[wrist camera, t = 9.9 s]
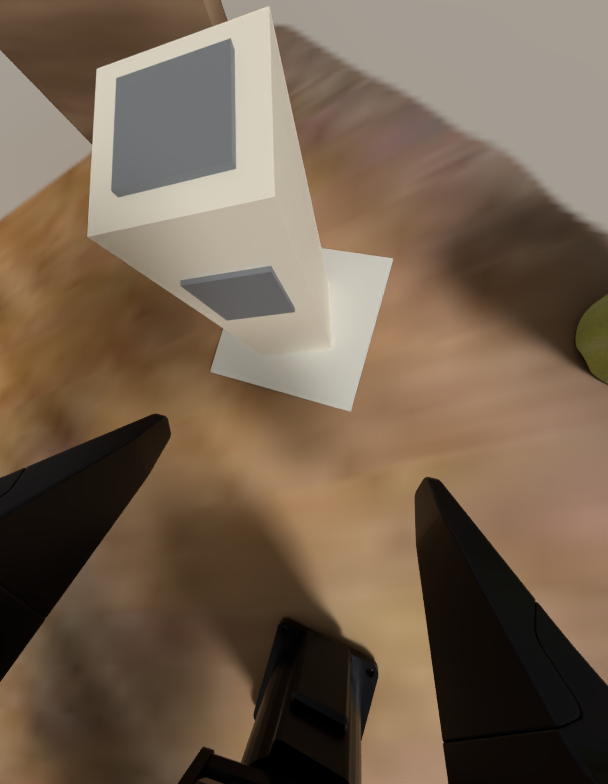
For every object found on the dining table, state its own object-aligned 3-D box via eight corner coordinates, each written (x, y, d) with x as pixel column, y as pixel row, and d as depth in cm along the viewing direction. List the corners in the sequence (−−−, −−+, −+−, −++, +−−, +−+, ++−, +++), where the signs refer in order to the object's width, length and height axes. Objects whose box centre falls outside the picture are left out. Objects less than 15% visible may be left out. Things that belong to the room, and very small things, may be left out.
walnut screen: (275, 225, 21) (168, -25, 9) (133, 206, 24) (-83, 1, 12) (289, 178, 21) (202, -128, 9) (147, 166, 24) (-54, -75, 12)
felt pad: (350, 411, 18) (350, 411, 18) (212, 372, 21) (210, 371, 20) (392, 262, 19) (393, 258, 18) (252, 240, 21) (250, 237, 21)
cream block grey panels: (332, 352, 18) (272, 197, 6) (264, 358, 19) (78, 238, 6) (328, 282, 19) (266, -7, 6) (262, 291, 20) (89, 59, 7)
